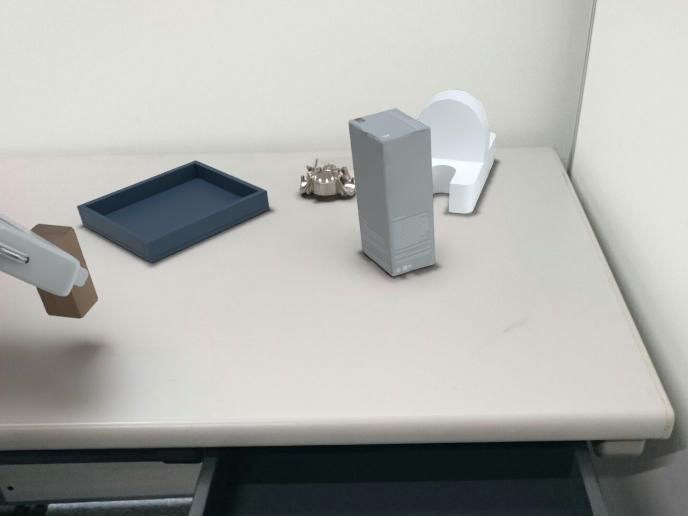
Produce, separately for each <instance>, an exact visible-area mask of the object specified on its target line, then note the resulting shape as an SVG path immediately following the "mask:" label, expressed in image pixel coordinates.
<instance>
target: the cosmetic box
mask: <svg viewBox="0 0 688 516" xmlns="http://www.w3.org/2000/svg"><path fill="white" fill-rule="evenodd" d="M348 132H349V142H350V151H351V158H352V159H351V160H352V168H353V177H354V178H355V187H356V188H355V195H356V196H355V197H356V204H357V213H358V223H359V230H360V231H359V233H360V241H361V252H362V253H364V254H365V255H366V256H368V257H369V259H371V260H372V261H373V262H375V263H376V264H377V265H378V266H379V267H381V269H383V270H384V271H385V272H386V273H388V274H389V275H390V276H392V277H396V276H399V275H400V276H401V275H403V274H405V273H409V272H411V271H415V270H418V269H422V268H425V267H429V266H433V265H435V264H436V242H435V239H436V238H435V213H434V212H435V211H434V194H433V183H432V156H431V128H430V127H428V126H426V125H424V124H423V123H421V122H419V121H417V119H415V118H413V117H412V116H410V115H408V114H407V113H405V112H403V111H402V110H400V109H398V108H397V107H395V108H391V109H386V110H383V111H379V112H376V113H373V114H368V115H365V116H361V117H357V118H353V119H349V120H348Z"/></svg>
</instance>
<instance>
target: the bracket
mask: <svg viewBox="0 0 688 516" xmlns="http://www.w3.org/2000/svg"><path fill="white" fill-rule="evenodd" d="M416 120H417V121H419V122H421V123H423V124H424V125H426V126H428V127H430V128H431V156H432V183H433V195H434V194H440V193H441V194H448V195H449V197H448V213H454V214H455V213H456V214H464V215H465V214H471V213H473V211H474V209H475V207H476V205H477V203H478V200H479V198H480V195H481V193H482V191H483V188H484V186H485V184H486V182H487V179H488V177H489V174H490V172H491V170H492V167H493V165H494V162H495V154H496V153H495V151H496V140H497V134H496V133H495V132H493V131H490V130H491V129H490V128H491V127H490V125H491V124H490V120H489V116H488V113H487V111H486V109H485V108H484V106H483V104H482V103H481V101H480V100H478V98H476V97H475V96H474V95H472V94H470V93H469V92H467V91H465V90H464V91H463V90H460V89H446V90H443V91H441V92H438V93H437V94H435V95H434V96H433V97H431V99H429V100H428V102H427V103H426V105H425V106H424V108H423V109H422V111H421V112H420V113H419V115H418V116H417V118H416Z"/></svg>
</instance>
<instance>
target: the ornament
mask: <svg viewBox="0 0 688 516" xmlns="http://www.w3.org/2000/svg"><path fill="white" fill-rule="evenodd" d="M305 168H306V170H307V172H306V176H305V175H304V174H301V176H300V185H299V190H298V191H299V194H307V196H309V195H311V194H312V193H313V194H314V195H318V196H334V195H337V194H339V195H340V196H341V197H347V196H349V197H352V196H353V195H355V194H356V187H355V177H354V176H352V177H351V175H350V173H349V170H348V167H347V166H342V167H337V166H336V165H335V164H332V163H331V164H330V163H328V164H324V165H323V167H322V166H316V167H315V166H311V165H306V166H305Z"/></svg>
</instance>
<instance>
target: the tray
mask: <svg viewBox="0 0 688 516" xmlns="http://www.w3.org/2000/svg"><path fill="white" fill-rule="evenodd" d="M268 195H269V194H268V190H266V189H264V188H262V187H259V186H258V185H254V184H252V183H250V182H248V181H246V180H243V179H242V178H238V177H237V176H235V175H231V174H229V173H227V172H224V171H222V170H220V169H218V168H215V167H212V166H210V165H208V164H206V163H204V162H201V161H198V160H196V159H195V160H193V161H190V162H188V163H185V164H182V165H180V166H177V167H175V168H172V169H169V170H167V171H164V172H162V173H159V174H156V175H154V176H151V177H148V178H146V179H143V180H141V181H138V182H136V183H132V184H131V185H128V186H125V187H123V188H119V189H118V190H115V191H112V192H109V193H107V194H105V195H102V196H99V197H97V198H93V199H92V200H89V201H87V202H83V203H82V204H79V205H76V208H77V211H78V215H79V217H80V220H81V224H82V226H84V227H86V228H87V229H89V230H91V231H93V232H94V233H96V234H98V235H100V236H102V237H104V238H106V239H107V240H109V241H110V242H113V243H114V244H116V245H119V246H120V247H122V248H124V249H125V250H127V251H129V252H131V253H133V254H135V255H136V256H138V257H140V258H142V259H144V260H146V261H147V262H149V263H151V264H154V263H155V262H158V261H160V260H163V259H164V258H167V257H169V256H171V255H173V254H176V253H177V252H180V251H182V250H184V249H186V248H188V247H190V246H193V245H195V244H197V243H200V242H202V241H204V240H206V239H208V238H211V237H213V236H215V235H217V234H219V233H221V232H224V231H226V230H228V229H230V228H232V227H235V226H237V225H239V224H241V223H244V222H245V221H248V220H250V219H252V218H255V217H256V216H259V215H261V214H264V213H265V212H268V211H270V209H271V208H270V202H269V196H268Z"/></svg>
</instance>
